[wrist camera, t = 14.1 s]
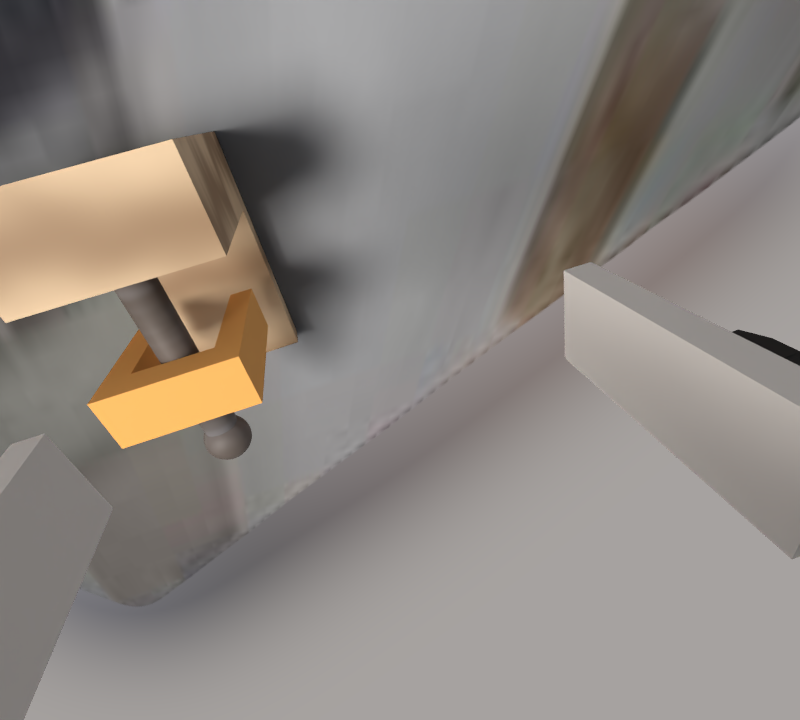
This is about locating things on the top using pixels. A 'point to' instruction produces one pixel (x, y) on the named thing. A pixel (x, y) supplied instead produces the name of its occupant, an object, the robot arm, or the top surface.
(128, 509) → the top surface
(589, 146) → the top surface
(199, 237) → the wooden l-shaped stand
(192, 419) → the orange u-shaped bracket
